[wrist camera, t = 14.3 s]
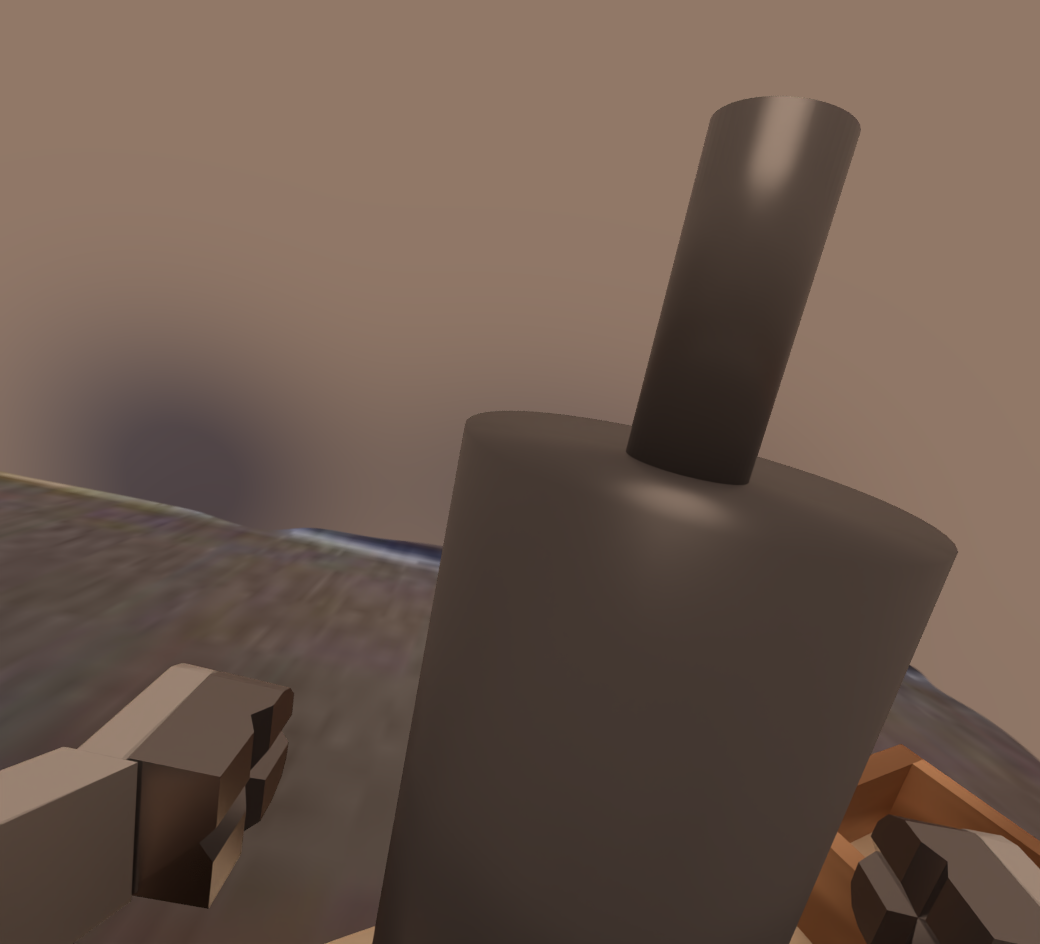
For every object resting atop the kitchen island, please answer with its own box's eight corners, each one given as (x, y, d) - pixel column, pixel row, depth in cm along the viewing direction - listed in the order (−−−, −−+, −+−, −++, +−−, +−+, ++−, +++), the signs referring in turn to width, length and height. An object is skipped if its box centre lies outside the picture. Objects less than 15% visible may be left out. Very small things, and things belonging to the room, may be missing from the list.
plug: (287, 1184, 10) (449, 95, 5) (507, 1061, 12) (743, 221, 8) (332, 1754, 6) (947, -273, 2) (640, 1420, 8) (1234, 176, 4)
